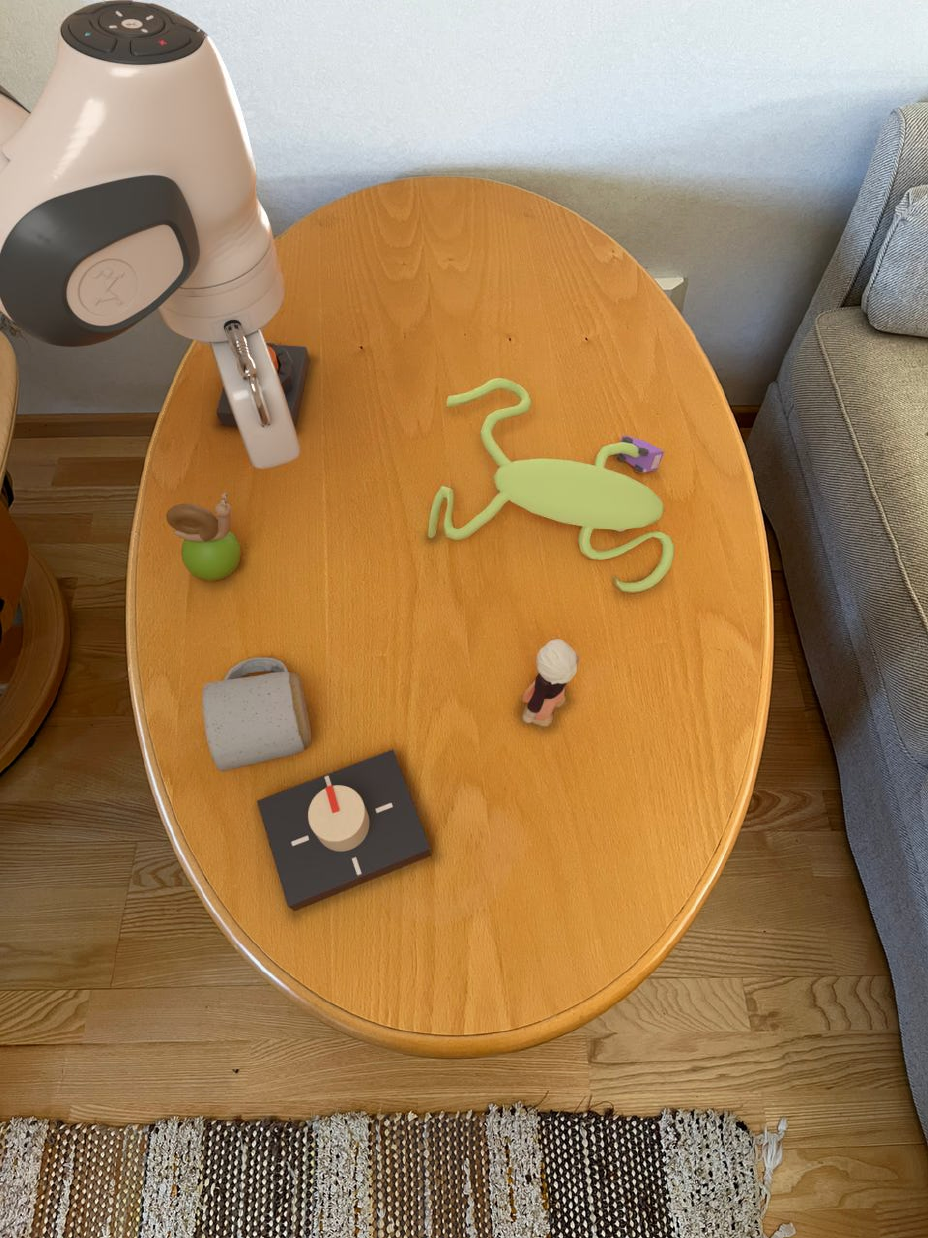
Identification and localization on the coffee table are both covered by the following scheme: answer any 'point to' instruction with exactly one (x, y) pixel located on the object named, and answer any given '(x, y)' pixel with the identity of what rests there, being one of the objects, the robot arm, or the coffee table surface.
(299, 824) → the dial panel
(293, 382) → the button base
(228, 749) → the ceramic mug
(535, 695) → the grandmother figurine
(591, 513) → the figurine
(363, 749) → the coffee table surface
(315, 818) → the dial
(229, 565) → the snail figurine
